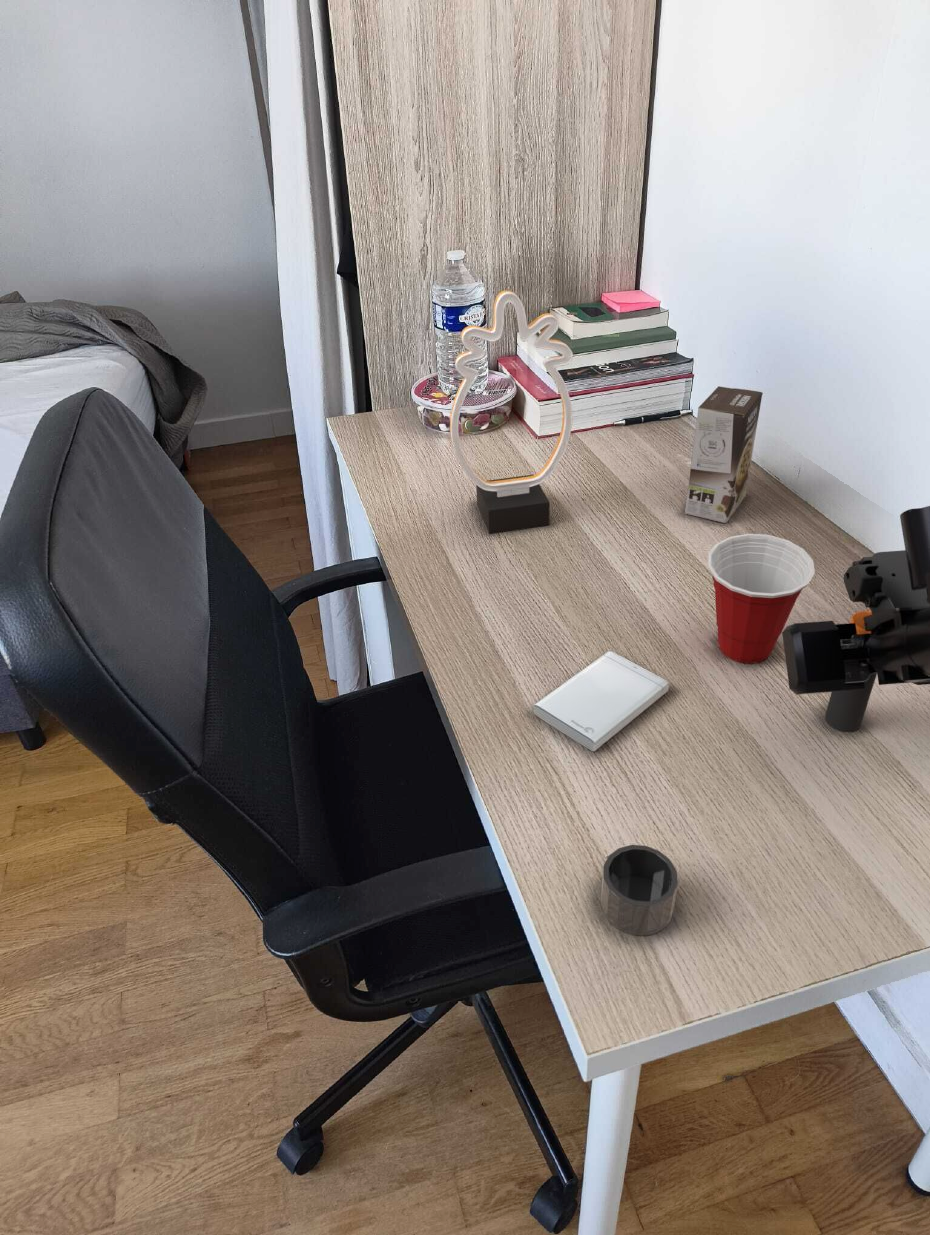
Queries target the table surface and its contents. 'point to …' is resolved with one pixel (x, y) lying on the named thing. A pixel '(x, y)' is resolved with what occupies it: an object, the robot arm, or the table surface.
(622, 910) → the socket
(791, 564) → the plastic cup
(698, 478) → the coffee box
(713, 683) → the table surface
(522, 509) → the lamp
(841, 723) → the orange-capped black cylinder
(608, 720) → the hard drive
